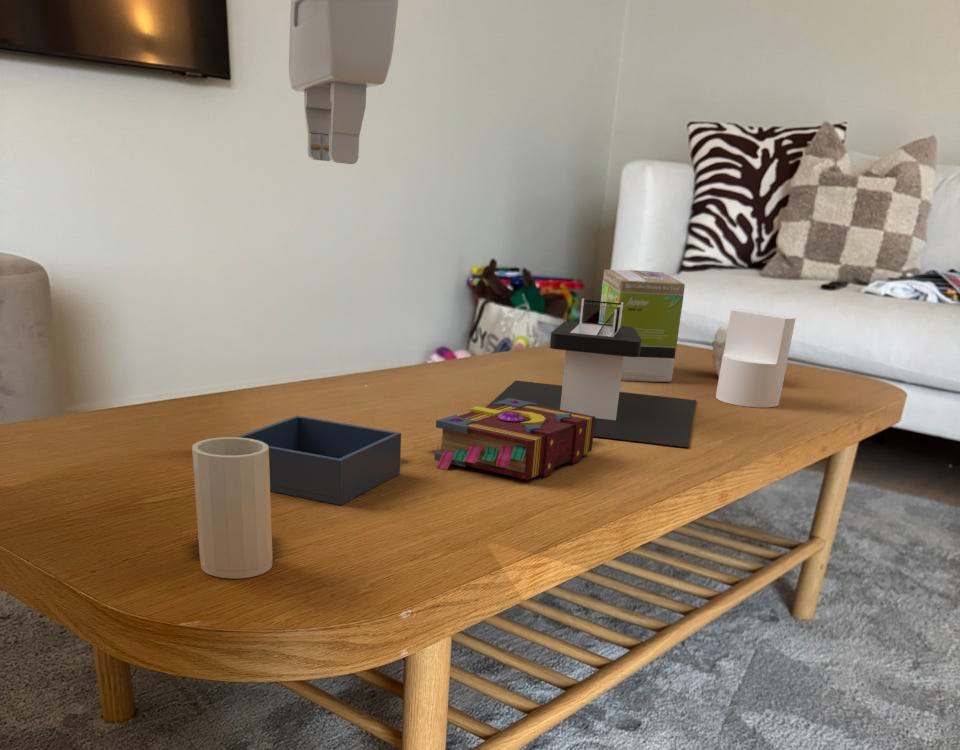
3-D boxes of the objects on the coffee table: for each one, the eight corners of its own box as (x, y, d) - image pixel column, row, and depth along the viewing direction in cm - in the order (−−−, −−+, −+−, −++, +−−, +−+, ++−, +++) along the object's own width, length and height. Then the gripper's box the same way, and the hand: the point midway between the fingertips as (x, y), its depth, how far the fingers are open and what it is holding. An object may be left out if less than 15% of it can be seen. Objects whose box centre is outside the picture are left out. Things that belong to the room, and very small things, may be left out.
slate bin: (340, 505, 85) (340, 460, 83) (229, 483, 89) (226, 439, 87) (400, 473, 95) (401, 432, 93) (297, 454, 99) (296, 415, 97)
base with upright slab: (790, 402, 139) (807, 316, 134) (759, 410, 133) (776, 320, 128) (735, 391, 145) (750, 307, 139) (703, 397, 139) (718, 311, 133)
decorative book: (594, 455, 106) (599, 410, 104) (523, 488, 93) (527, 437, 91) (505, 436, 111) (508, 393, 109) (427, 465, 98) (429, 416, 96)
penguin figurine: (729, 316, 155) (800, 334, 149) (715, 369, 159) (784, 388, 154) (714, 319, 150) (787, 338, 145) (700, 373, 154) (771, 393, 149)
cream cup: (199, 580, 68) (191, 456, 64) (201, 553, 73) (193, 436, 69) (274, 577, 70) (270, 456, 66) (271, 551, 74) (267, 437, 70)
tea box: (592, 362, 159) (602, 267, 153) (651, 365, 160) (664, 271, 154) (608, 380, 146) (620, 277, 139) (673, 383, 147) (688, 281, 140)
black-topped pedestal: (688, 448, 111) (707, 329, 105) (469, 422, 116) (476, 307, 110) (695, 401, 136) (711, 302, 130) (515, 381, 141) (522, 285, 135)
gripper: (269, -54, 71) (269, 155, 77) (312, -115, 54) (308, 160, 60) (353, -39, 73) (347, 163, 79) (421, -94, 56) (406, 170, 62)
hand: (331, 161), depth 69 cm, fingers open, 8 cm apart
